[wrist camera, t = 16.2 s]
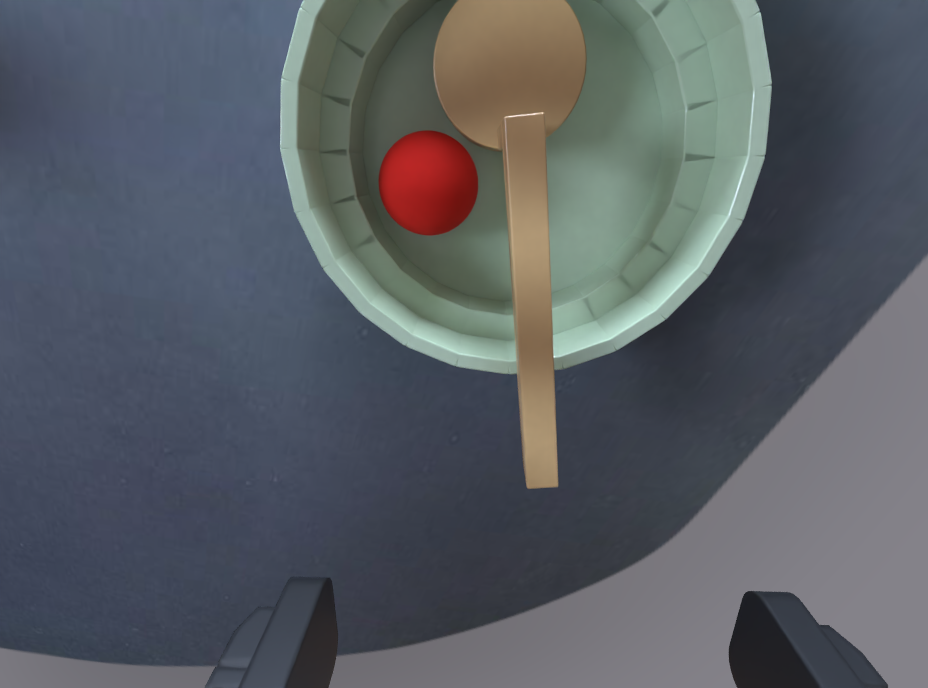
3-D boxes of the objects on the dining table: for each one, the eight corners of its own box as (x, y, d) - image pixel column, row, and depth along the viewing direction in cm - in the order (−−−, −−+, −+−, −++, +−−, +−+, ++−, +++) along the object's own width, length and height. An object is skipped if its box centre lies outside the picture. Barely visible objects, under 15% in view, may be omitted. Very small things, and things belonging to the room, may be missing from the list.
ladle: (430, 6, 19) (404, -81, 12) (573, -12, 18) (626, -111, 12) (471, 407, 25) (469, 493, 18) (579, 399, 24) (617, 483, 18)
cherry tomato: (493, 203, 21) (487, 113, 18) (464, 261, 19) (451, 170, 16) (412, 194, 22) (393, 109, 19) (375, 248, 20) (347, 161, 17)
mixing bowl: (751, -31, 19) (857, -109, 13) (638, 351, 24) (682, 400, 19) (338, -102, 18) (283, -211, 13) (320, 304, 24) (277, 341, 18)
